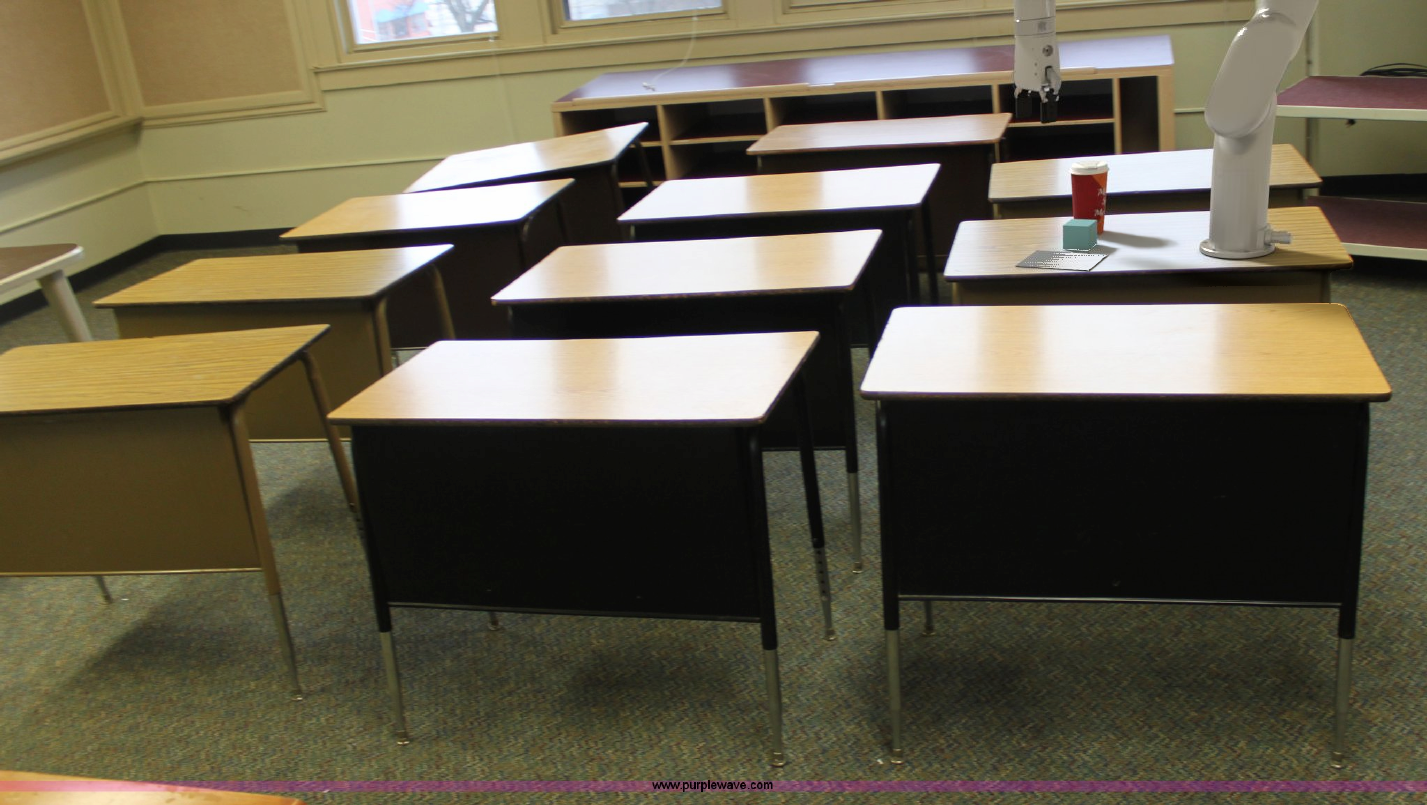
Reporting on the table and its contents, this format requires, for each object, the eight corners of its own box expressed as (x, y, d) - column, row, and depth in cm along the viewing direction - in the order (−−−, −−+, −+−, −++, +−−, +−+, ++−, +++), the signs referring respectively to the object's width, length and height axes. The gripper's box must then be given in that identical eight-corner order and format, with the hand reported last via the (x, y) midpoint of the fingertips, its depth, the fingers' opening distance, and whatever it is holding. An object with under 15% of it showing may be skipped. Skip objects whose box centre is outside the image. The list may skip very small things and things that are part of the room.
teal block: (1096, 244, 222) (1097, 219, 221) (1088, 251, 219) (1088, 226, 217) (1071, 243, 225) (1071, 219, 223) (1062, 250, 222) (1062, 225, 220)
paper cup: (1111, 235, 227) (1111, 166, 222) (1071, 238, 229) (1071, 169, 223) (1106, 226, 234) (1107, 158, 229) (1067, 228, 236) (1067, 161, 230)
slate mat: (1108, 255, 215) (1108, 254, 215) (1088, 271, 207) (1088, 270, 207) (1036, 251, 223) (1036, 250, 223) (1015, 266, 215) (1015, 265, 215)
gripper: (1077, 26, 206) (1077, 121, 212) (1030, 24, 222) (1032, 112, 228) (1039, 32, 205) (1040, 128, 211) (995, 29, 220) (997, 118, 227)
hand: (1036, 119), depth 219 cm, fingers open, 9 cm apart
